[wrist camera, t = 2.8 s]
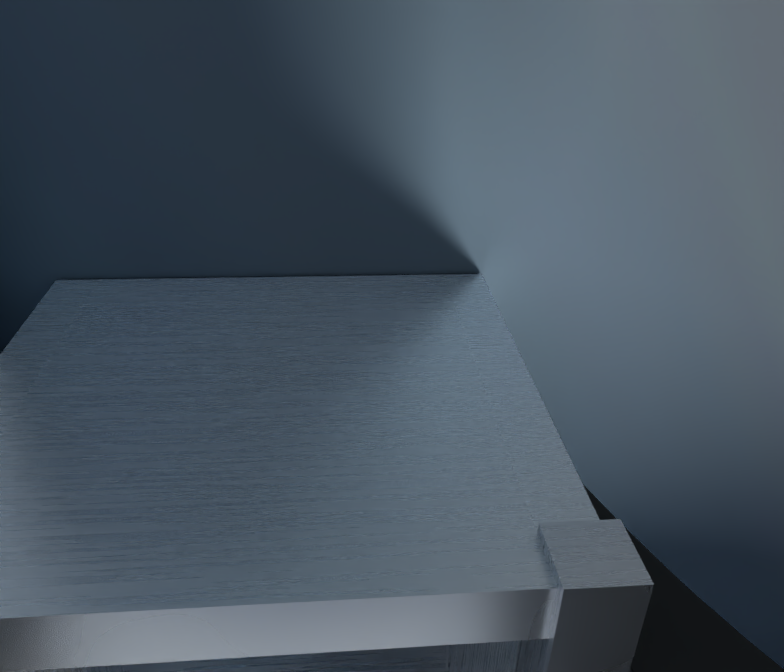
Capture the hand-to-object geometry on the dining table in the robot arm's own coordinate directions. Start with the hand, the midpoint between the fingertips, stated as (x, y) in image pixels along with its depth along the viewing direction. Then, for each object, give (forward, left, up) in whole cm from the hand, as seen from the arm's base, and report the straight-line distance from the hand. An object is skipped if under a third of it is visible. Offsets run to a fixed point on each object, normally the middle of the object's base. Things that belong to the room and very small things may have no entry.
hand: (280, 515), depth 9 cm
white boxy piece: (0, 0, -1) cm, 1 cm away
